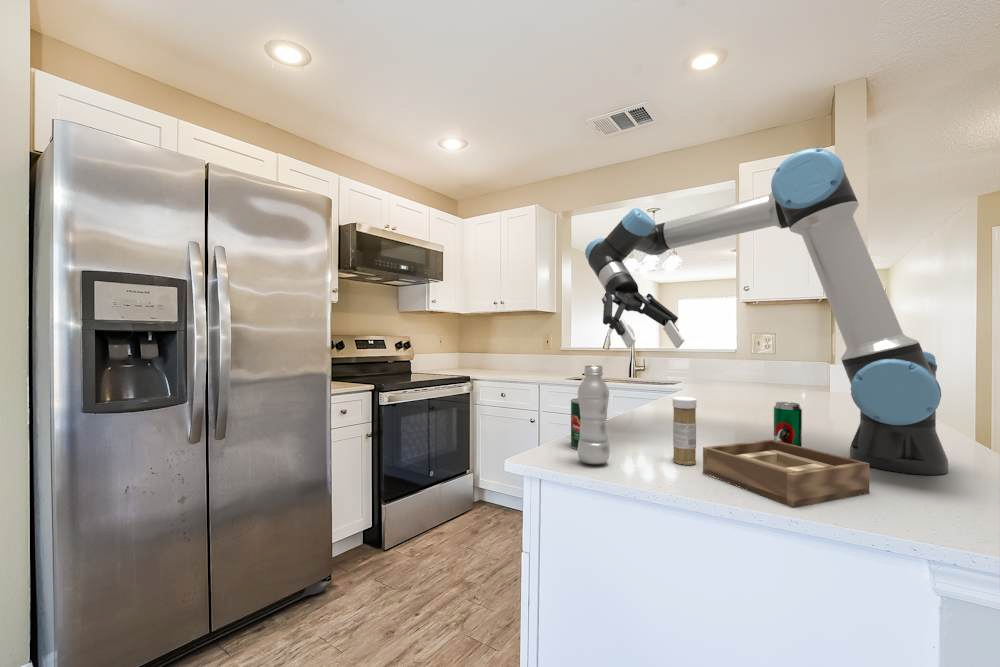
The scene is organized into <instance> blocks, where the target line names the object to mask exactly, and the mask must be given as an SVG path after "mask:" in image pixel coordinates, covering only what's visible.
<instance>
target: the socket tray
mask: <svg viewBox="0 0 1000 667" xmlns="http://www.w3.org/2000/svg"><path fill="white" fill-rule="evenodd" d="M703 473H705V474H704V475H706V474H708V475H711V476H714V477H716V478H719V479H721V480H724V481H726V482H725V483H727V482H729V483H731V484H730V485H732V484H734V485H733V486H735V485H737V486H740V487H742V488H741V489H743V488H744V489H743V490H745V489H747V490H746V491H748V490H749V491H748V492H751V491H752V492H751V493H753V492H754V494H756V493H757V494H756V495H758V494H759V495H758V496H761V497H764V498H766V497H767V499H769V500H772V501H775V502H778V503H779V504H782V505H785V506H787V507H791V508H799V506H800V507H804V505H805V506H809V504H810V505H814V503H815V504H819V502H821V503H825V502H824V501H826V502H831V501H835V500H834V499H836V500H841V499H840V498H842V499H846V498H845V497H847V498H851V497H850V496H852V497H856V496H855V495H857V496H860V495H859V494H862V495H865V494H864V493H868V494H870V466H869V463H866V462H862V461H857V460H853V459H851V458H850V457H849V458H848V457H845V456H841V455H836V454H834V453H833V454H832V453H828V452H826V451H825V452H824V451H820V450H816V449H811V448H807V447H804V446H802V447H800V446H796V445H792V444H787V443H783V442H779V441H775V440H774V439H765V440H757V441H747V442H746V441H745V442H740V443H737V442H736V443H730V444H721V445H713V446H712V445H711V446H710V445H709V446H705V447H704V446H703V447H702V474H703ZM708 475H707V476H708ZM711 476H710V477H711ZM716 478H715V479H716ZM719 479H718V480H719ZM721 480H720V481H721ZM724 481H723V482H724ZM729 483H728V484H729ZM737 486H736V487H737ZM740 487H739V488H740ZM830 500H831V501H830Z"/></svg>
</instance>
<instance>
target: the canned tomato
mask: <svg viewBox="0 0 1000 667" xmlns="http://www.w3.org/2000/svg"><path fill="white" fill-rule="evenodd" d="M580 419H581V417H580V407H579V400H578V397H576V398H572V399H570V444H571V445H570V447H571V448H572V449H573V450H578V443H579V440H580V439H579V438H580V425H581V423H580Z"/></svg>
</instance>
